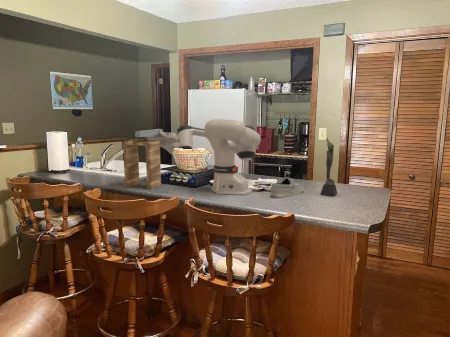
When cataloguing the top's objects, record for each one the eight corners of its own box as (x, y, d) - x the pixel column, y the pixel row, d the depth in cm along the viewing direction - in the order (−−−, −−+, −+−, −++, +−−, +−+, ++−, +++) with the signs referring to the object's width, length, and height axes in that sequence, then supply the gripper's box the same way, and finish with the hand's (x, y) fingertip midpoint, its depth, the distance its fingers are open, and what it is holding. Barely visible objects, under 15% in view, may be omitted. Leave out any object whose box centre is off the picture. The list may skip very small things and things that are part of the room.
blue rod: (162, 134, 216) (162, 129, 216) (140, 137, 195) (139, 131, 195) (158, 133, 217) (158, 128, 217) (135, 137, 196) (135, 131, 196)
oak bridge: (160, 185, 212) (159, 139, 207) (151, 189, 203) (149, 141, 198) (135, 183, 218) (133, 138, 213) (125, 186, 209) (122, 140, 204)
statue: (334, 196, 187) (337, 139, 181) (320, 195, 190) (322, 138, 185) (337, 193, 193) (340, 138, 188) (323, 192, 196) (326, 137, 191)
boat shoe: (307, 191, 199) (307, 175, 198) (283, 200, 181) (284, 183, 179) (292, 188, 205) (292, 173, 204) (267, 197, 187) (268, 180, 185)
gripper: (180, 146, 219) (170, 136, 207) (151, 145, 227) (140, 135, 215) (182, 137, 221) (172, 126, 209) (154, 136, 229) (142, 126, 217)
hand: (155, 131), depth 212 cm, fingers closed on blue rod, 3 cm apart
